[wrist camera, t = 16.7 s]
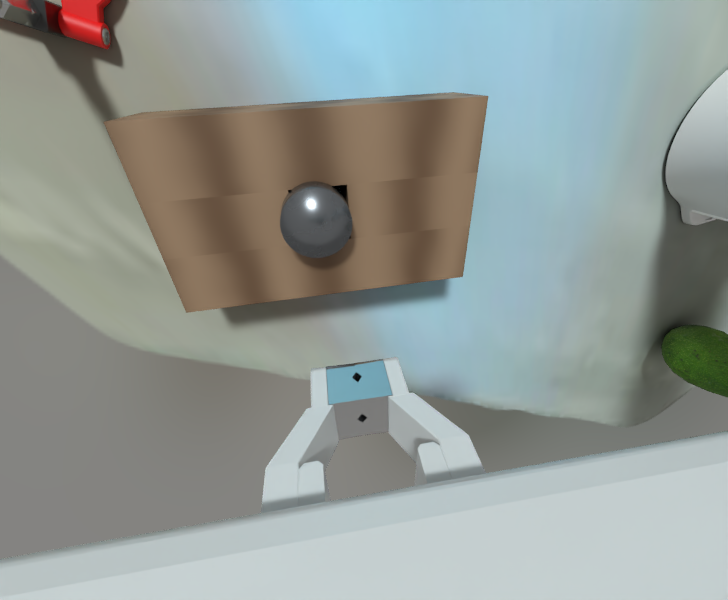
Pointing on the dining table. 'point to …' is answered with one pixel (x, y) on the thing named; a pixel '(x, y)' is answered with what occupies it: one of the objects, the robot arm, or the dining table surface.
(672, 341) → the avocado
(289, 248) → the hitch block
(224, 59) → the dining table surface
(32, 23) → the tow hook
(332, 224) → the steel pin
